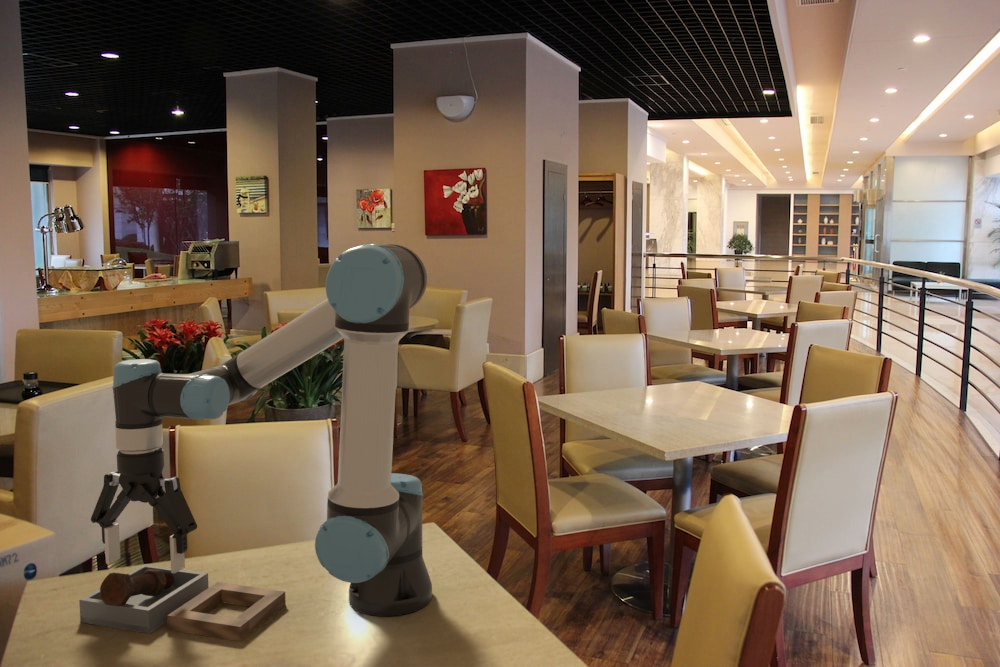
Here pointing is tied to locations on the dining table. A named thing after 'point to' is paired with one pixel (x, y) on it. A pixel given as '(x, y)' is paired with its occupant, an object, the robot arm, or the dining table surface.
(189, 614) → the rectangular frame
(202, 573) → the tray
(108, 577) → the bolt
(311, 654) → the dining table surface
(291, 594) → the dining table surface
